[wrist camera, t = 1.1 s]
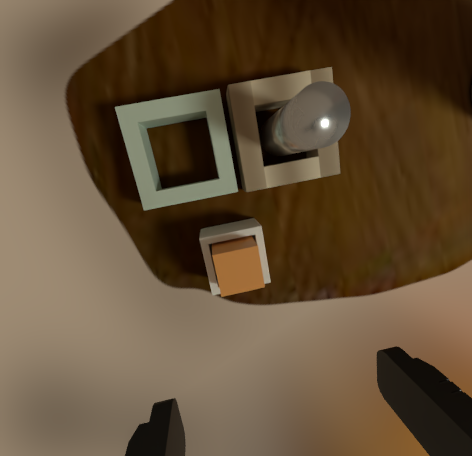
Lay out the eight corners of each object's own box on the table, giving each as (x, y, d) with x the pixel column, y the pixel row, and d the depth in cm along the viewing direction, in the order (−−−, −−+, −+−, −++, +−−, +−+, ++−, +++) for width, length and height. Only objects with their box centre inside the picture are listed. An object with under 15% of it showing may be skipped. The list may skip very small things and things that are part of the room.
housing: (253, 218, 27) (261, 225, 23) (262, 267, 29) (270, 282, 25) (200, 228, 27) (199, 238, 23) (212, 278, 28) (212, 295, 24)
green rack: (218, 98, 24) (219, 88, 21) (235, 189, 26) (238, 191, 23) (126, 114, 24) (114, 106, 21) (151, 205, 26) (144, 210, 23)
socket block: (317, 79, 25) (331, 66, 22) (326, 173, 27) (340, 173, 24) (225, 95, 24) (228, 84, 21) (242, 189, 26) (246, 192, 23)
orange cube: (251, 235, 24) (257, 245, 21) (257, 271, 25) (265, 287, 22) (211, 243, 24) (212, 255, 21) (219, 279, 25) (221, 296, 22)
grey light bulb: (294, 112, 25) (348, 76, 15) (299, 152, 26) (352, 141, 16) (256, 119, 25) (287, 87, 15) (263, 159, 26) (294, 153, 16)
